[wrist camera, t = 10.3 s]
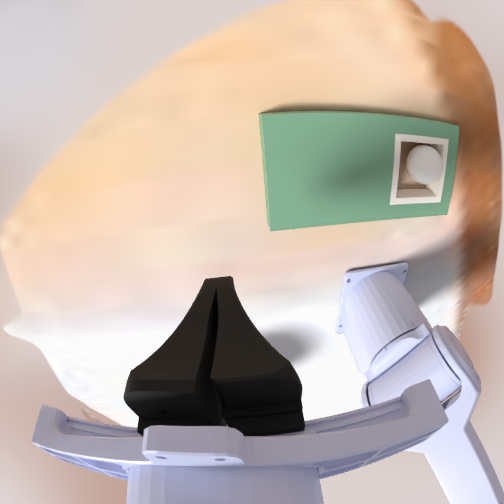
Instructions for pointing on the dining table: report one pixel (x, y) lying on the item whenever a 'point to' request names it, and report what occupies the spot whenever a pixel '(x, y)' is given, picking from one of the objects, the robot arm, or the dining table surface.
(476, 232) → the dining table surface
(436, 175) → the ball
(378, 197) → the green
